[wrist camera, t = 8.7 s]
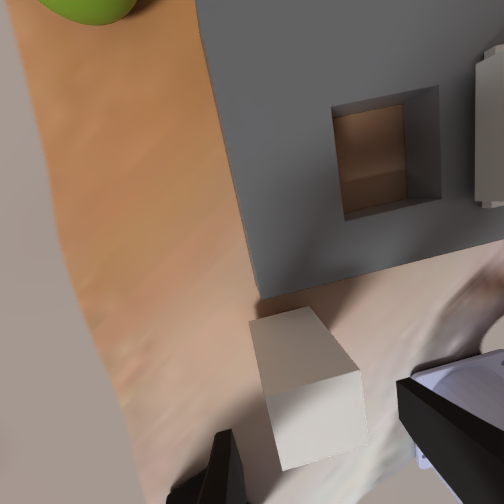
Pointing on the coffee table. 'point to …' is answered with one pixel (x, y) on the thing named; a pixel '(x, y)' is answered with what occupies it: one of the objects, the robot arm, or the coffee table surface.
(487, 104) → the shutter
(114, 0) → the snail figurine
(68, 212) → the coffee table surface
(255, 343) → the plug
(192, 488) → the battery
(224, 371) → the coffee table surface
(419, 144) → the socket plate
